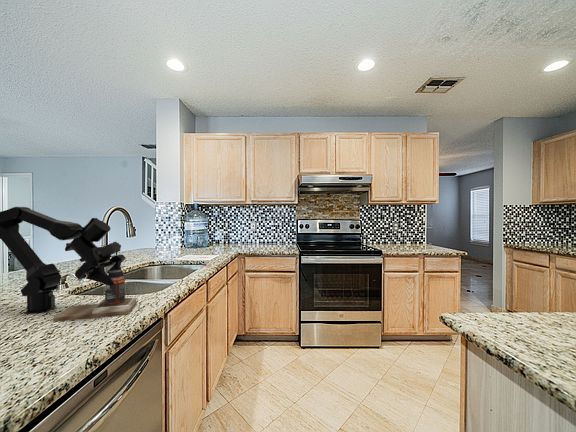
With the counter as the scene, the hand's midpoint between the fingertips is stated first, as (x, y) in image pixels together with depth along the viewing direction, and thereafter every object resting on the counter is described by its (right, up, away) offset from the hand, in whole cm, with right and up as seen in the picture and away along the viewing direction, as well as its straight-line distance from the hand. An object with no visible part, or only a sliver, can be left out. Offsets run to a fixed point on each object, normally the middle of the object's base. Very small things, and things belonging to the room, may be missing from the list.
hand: (119, 282), depth 97 cm
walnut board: (-6, -10, -1) cm, 12 cm away
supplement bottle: (-1, -7, 0) cm, 7 cm away
